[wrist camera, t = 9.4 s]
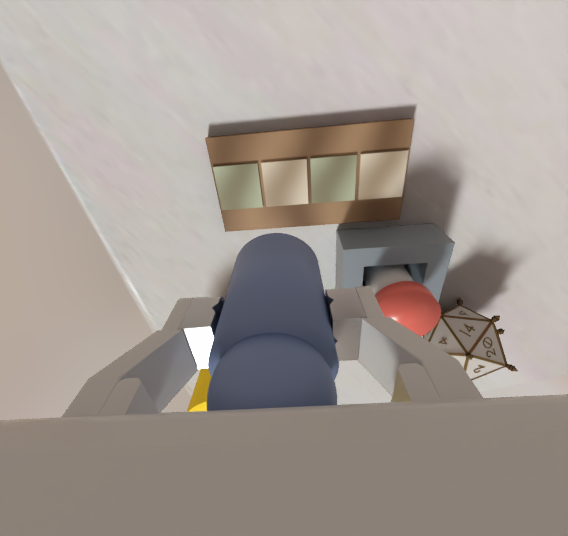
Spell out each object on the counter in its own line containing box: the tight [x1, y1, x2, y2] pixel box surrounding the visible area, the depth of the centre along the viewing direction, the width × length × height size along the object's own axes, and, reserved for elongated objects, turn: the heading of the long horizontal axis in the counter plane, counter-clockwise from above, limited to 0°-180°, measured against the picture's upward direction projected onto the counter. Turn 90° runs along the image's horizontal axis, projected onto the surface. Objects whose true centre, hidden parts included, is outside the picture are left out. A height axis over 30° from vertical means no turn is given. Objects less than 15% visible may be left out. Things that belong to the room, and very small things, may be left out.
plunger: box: [363, 264, 441, 336], centre depth 25 cm, size 5×5×7 cm
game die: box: [423, 298, 518, 380], centre depth 29 cm, size 9×8×10 cm
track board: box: [205, 118, 414, 232], centre depth 23 cm, size 16×8×1 cm, turn 95°
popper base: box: [336, 223, 455, 302], centre depth 27 cm, size 9×9×4 cm
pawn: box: [207, 233, 339, 411], centre depth 9 cm, size 4×4×7 cm
